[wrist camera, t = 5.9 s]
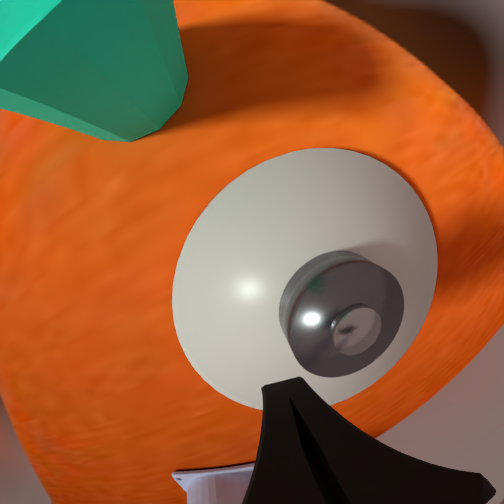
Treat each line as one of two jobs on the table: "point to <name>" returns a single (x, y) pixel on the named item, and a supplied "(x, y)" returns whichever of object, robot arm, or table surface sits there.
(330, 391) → the cream flat disc
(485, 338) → the table surface
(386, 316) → the cover
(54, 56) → the candle
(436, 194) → the table surface
